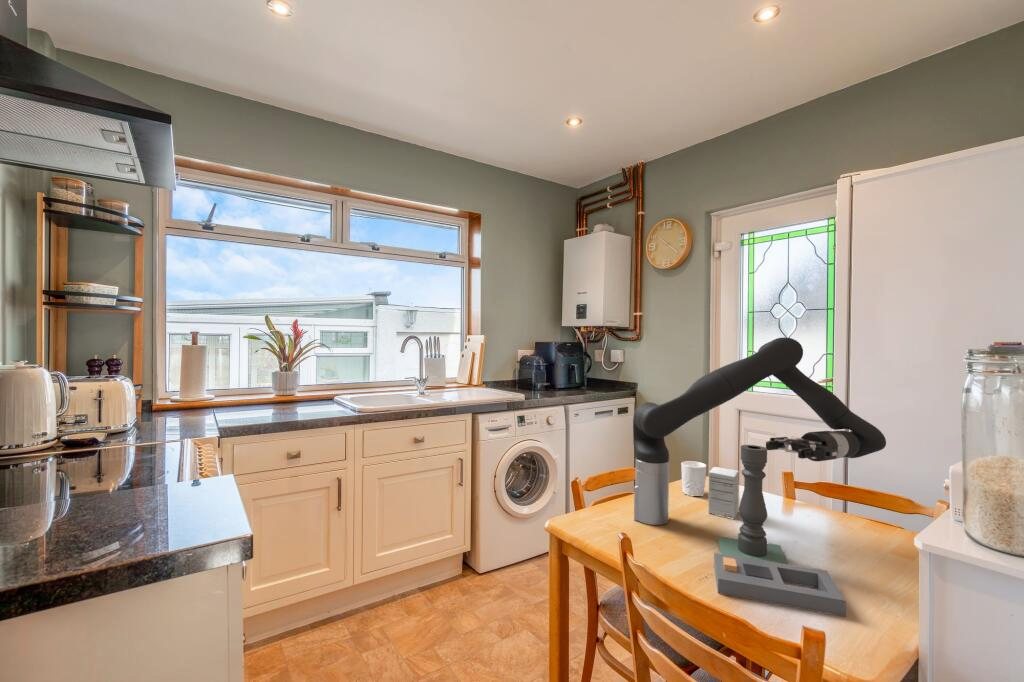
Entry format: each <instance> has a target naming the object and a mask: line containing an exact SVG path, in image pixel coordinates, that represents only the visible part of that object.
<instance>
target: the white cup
mask: <svg viewBox="0 0 1024 682" xmlns="http://www.w3.org/2000/svg"><path fill="white" fill-rule="evenodd" d="M680 467H681V470H680V471H681V486H682V493H683V492H684V493H685V494H688V495H693V496H702V495H704V496H705V487H706V478H707V464H706V463H703V462H700V461H695V460H693V461H692V460H684V461H681V463H680ZM684 493H683V494H684ZM685 494H684V495H685ZM688 495H687V496H688ZM702 497H703V496H702Z"/></svg>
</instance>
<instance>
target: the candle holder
mask: <svg viewBox="0 0 1024 682" xmlns="http://www.w3.org/2000/svg"><path fill="white" fill-rule="evenodd" d="M740 460H741V463H742V465H743V469H742V470H741V475H742V476H743V479H744V481H743V482H744V483H743V484H744V485H743V486H744V488H743V492H742V496H741V499H740V502H739V512H738V513H739V516H740V518H741V519H742V523H743V524H742V525H741V526H739V533H737V534H738V535H737V536H738V537H737V539H738V550H739V551H741V552H742V553H744V554H746V555H750V556H754V557H763V556H766V555H767V544H768V538H766V536H767V533H766V530H764V527H763V526H764V522H765V521H766V520H767V518H768V511H767V507H766V502H765V497H764V493H763V480H764V478H766V476H767V475H766V473H765V472H764V471H763V470H764V469H765V467H766V466H767V463H768V450H767V448H766V446H761V445H755V444H742V445H740Z"/></svg>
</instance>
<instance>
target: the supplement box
mask: <svg viewBox="0 0 1024 682" xmlns="http://www.w3.org/2000/svg"><path fill="white" fill-rule="evenodd" d="M739 486H740V471H739V470H736V469H731V468H724V467H718V466H713V467H712V468H711V469H710V470H709V471H708V502H707V503H708V511H707V512H708V514H709V513H712V514H717V515H721V516H725V517H730V518H735V519H736V518H737V516H738V513H739V506H740V502H739V500H740V497H739V496H740V495H739V494H740V487H739ZM712 514H711V515H712ZM721 516H720V517H721ZM725 517H724V518H725ZM730 518H729V519H730Z"/></svg>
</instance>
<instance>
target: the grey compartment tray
mask: <svg viewBox="0 0 1024 682" xmlns="http://www.w3.org/2000/svg"><path fill="white" fill-rule="evenodd" d="M713 568H714V575H715V583H716V587H717V588H716V589H717V593H718V594H721V595H727V596H732V597H737V598H742V599H748V600H753V601H759V602H763V603H764V602H765V603H769V604H775V605H780V606H786V607H791V608H798V609H802V610H808V611H814V612H819V613H825V614H829V615H835V616H839V617H845V618H846V617H847V599H846V598H845V597H844V595H843V593H842V592H841V591H840V589H839V587H838V586H837V584H836V582H834V579H833V578H832V576H831V574H829V572H828V570H826V569H825V570H824V569H819V568H812V567H806V566H801V565H800V566H799V565H794V564H789V565H788V564H782V563H776V562H769V561H763V560H757V559H750V558H744V557H738V556H731V555H725V554H721V553H718V552H713ZM786 583H787V584H788V585H787V584H786ZM789 584H790V585H789ZM791 584H792V585H791ZM793 585H794V586H793ZM795 585H798V586H795ZM800 586H802V587H800ZM803 586H804V587H803ZM805 587H806V588H805ZM807 587H809V588H807ZM811 588H815V589H811ZM816 588H817V589H816Z"/></svg>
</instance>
